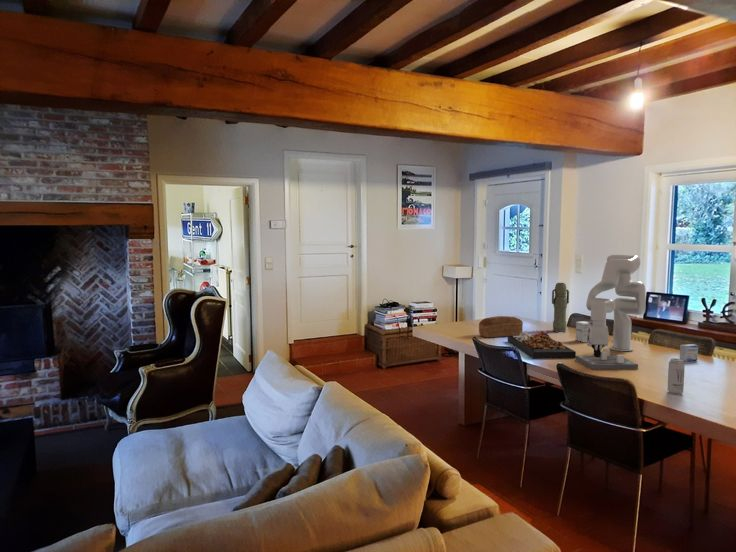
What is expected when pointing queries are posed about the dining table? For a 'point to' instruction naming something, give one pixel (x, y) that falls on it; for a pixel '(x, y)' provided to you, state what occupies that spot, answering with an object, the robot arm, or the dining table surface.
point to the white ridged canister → (582, 331)
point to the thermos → (560, 307)
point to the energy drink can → (676, 376)
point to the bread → (500, 326)
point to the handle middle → (603, 356)
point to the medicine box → (688, 352)
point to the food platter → (541, 346)
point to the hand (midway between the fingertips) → (597, 356)
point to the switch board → (605, 363)
